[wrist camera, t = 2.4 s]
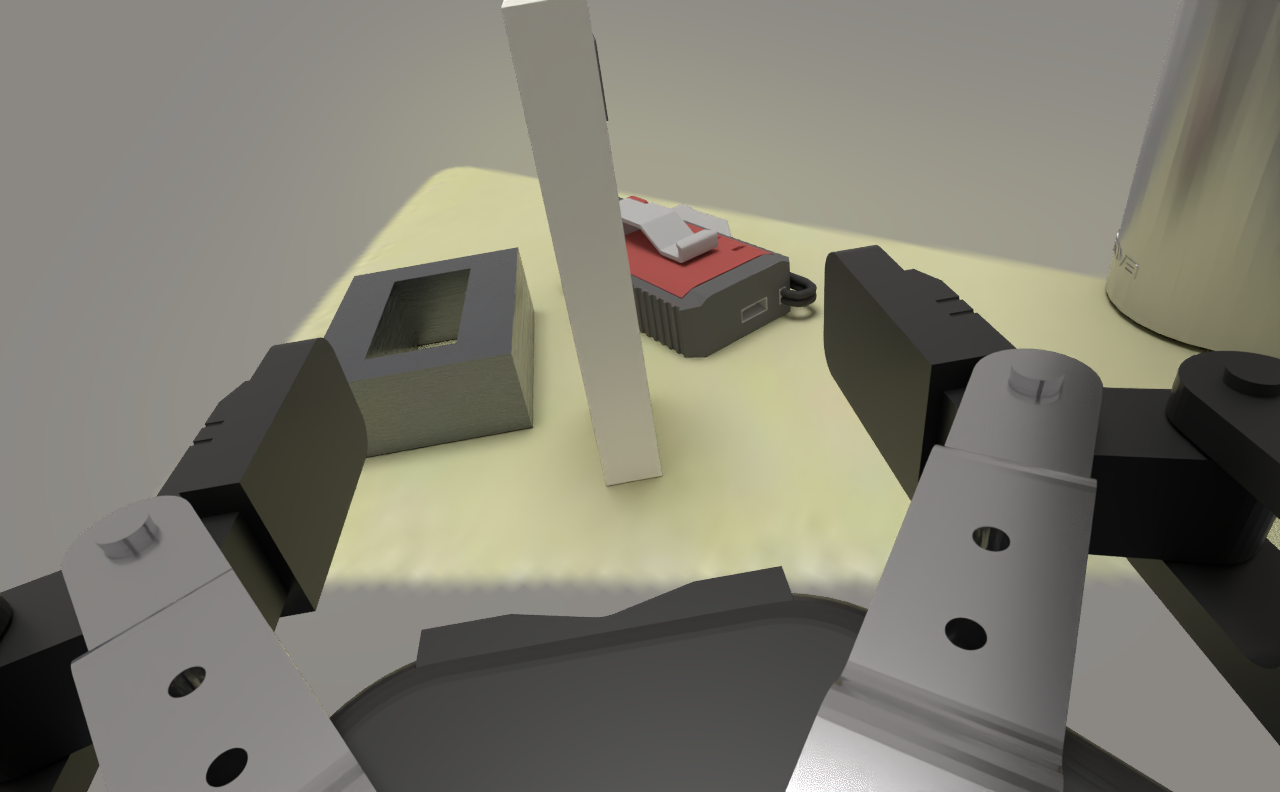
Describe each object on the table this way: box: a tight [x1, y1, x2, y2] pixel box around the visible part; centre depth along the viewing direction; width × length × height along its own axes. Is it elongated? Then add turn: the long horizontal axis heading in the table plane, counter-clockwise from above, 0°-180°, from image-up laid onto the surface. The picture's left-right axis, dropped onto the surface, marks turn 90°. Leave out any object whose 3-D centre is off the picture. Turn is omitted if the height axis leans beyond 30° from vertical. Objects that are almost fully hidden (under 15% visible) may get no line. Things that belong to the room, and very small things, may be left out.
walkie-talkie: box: [618, 196, 817, 357], centre depth 38 cm, size 9×4×20 cm
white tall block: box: [501, 0, 662, 486], centre depth 23 cm, size 5×2×15 cm, turn 7°
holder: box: [324, 247, 534, 457], centre depth 32 cm, size 10×8×4 cm
